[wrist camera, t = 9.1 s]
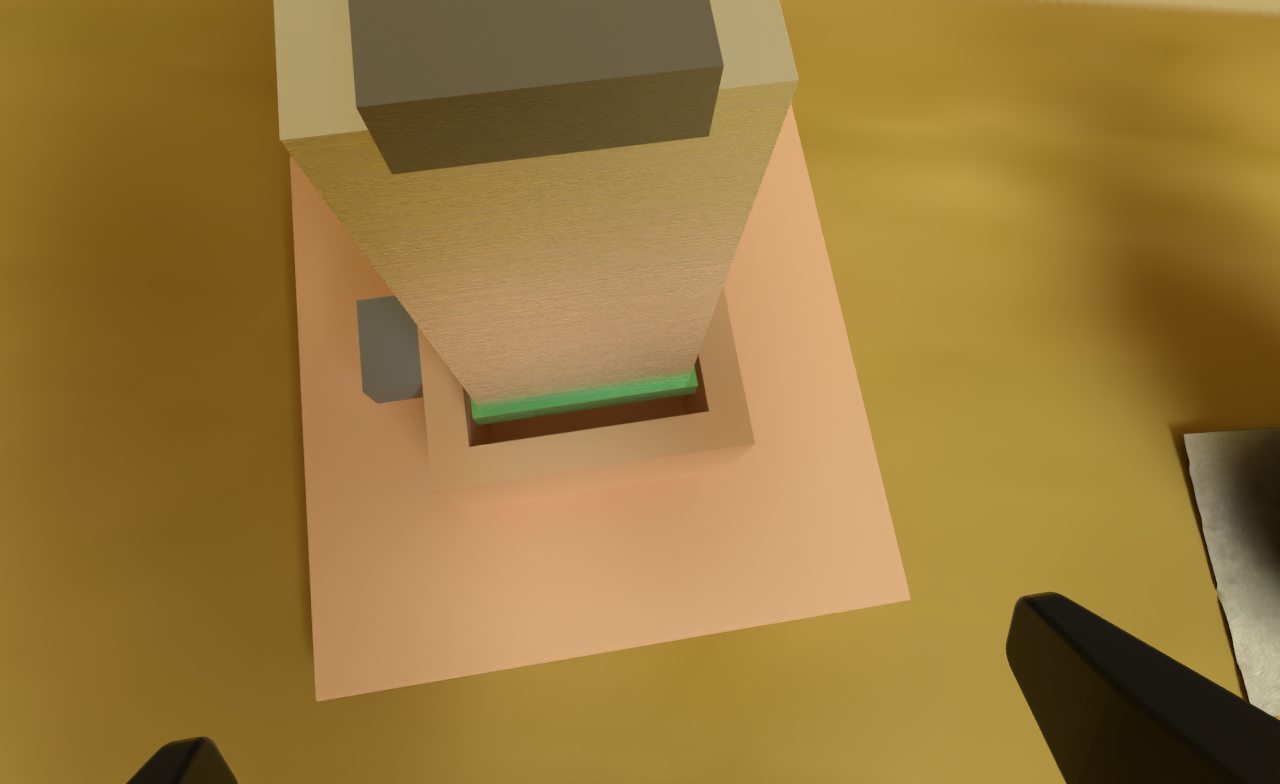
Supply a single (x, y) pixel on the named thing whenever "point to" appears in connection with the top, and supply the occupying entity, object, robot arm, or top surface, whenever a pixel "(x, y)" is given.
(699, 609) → the stand
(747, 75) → the column
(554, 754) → the top surface
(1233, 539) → the condiment
